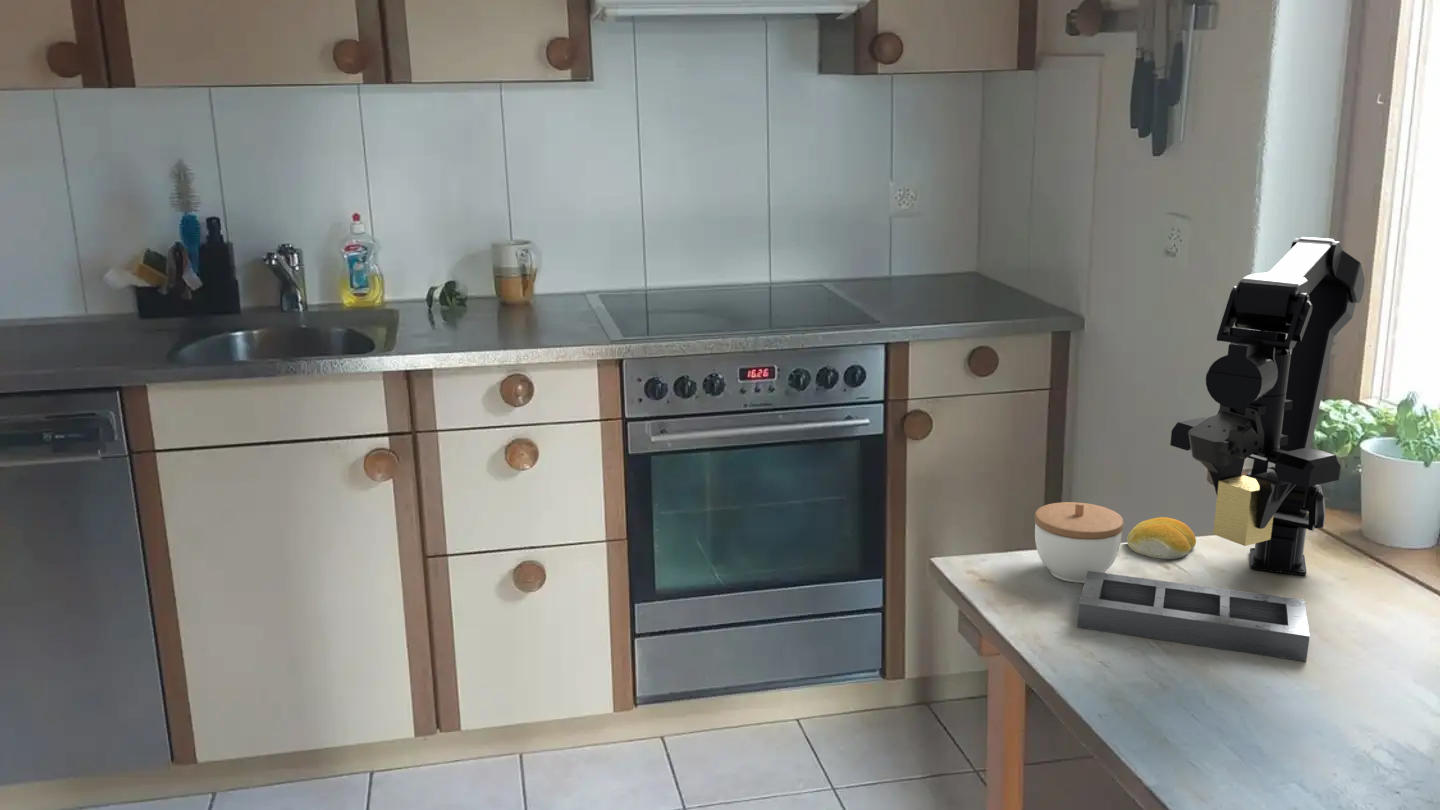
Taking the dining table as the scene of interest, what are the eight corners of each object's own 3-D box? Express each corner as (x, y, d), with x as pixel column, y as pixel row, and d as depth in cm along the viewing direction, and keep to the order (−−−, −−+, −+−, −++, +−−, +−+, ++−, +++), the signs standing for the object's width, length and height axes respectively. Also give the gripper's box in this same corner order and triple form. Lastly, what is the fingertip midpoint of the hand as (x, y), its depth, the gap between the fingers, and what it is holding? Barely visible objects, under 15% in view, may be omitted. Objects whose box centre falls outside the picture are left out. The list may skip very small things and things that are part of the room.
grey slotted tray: (1086, 593, 151) (1087, 570, 150) (1301, 623, 143) (1304, 599, 142) (1077, 627, 142) (1078, 603, 142) (1306, 661, 134) (1309, 636, 133)
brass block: (1238, 527, 146) (1244, 475, 144) (1270, 539, 142) (1277, 485, 141) (1212, 534, 144) (1218, 480, 142) (1245, 546, 140) (1251, 491, 139)
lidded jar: (1101, 555, 163) (1106, 488, 160) (1132, 589, 152) (1138, 517, 150) (1020, 558, 162) (1025, 490, 160) (1046, 592, 152) (1051, 520, 149)
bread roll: (1200, 544, 167) (1203, 516, 166) (1181, 565, 160) (1184, 536, 159) (1139, 531, 172) (1141, 504, 170) (1118, 552, 165) (1120, 523, 163)
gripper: (1142, 381, 143) (1131, 509, 147) (1283, 418, 127) (1265, 560, 131) (1209, 371, 148) (1196, 494, 152) (1352, 405, 132) (1333, 542, 136)
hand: (1243, 521), depth 143 cm, fingers closed on brass block, 4 cm apart
